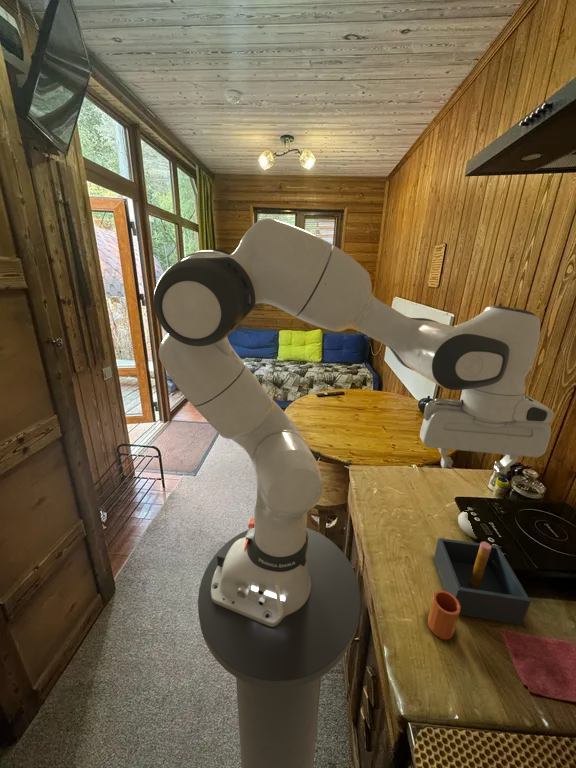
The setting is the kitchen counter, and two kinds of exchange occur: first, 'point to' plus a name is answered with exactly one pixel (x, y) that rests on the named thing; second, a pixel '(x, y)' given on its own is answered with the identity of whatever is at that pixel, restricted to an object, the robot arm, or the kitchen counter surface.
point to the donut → (466, 524)
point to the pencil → (480, 565)
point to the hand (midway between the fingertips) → (472, 469)
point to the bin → (497, 588)
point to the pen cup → (443, 614)
